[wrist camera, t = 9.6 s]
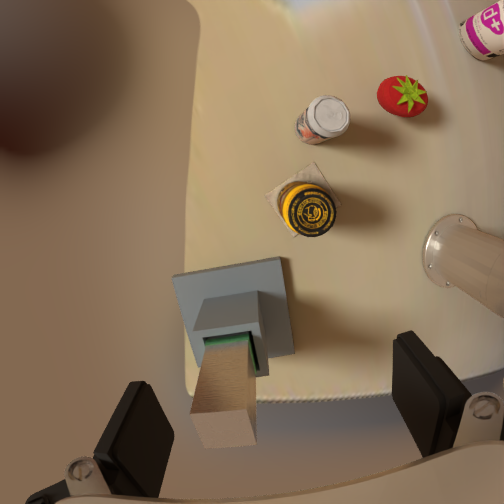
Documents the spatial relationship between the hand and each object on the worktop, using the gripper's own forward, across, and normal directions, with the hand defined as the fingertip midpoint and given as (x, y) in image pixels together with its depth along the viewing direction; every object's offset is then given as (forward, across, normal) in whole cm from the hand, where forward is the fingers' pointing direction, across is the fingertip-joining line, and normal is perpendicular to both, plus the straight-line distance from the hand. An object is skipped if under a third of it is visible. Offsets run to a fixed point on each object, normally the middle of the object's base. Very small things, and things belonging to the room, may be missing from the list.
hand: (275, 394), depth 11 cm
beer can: (+36, -10, -12) cm, 39 cm away
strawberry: (+36, -23, -14) cm, 45 cm away
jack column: (+28, +6, +13) cm, 31 cm away
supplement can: (+36, -46, -26) cm, 64 cm away
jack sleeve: (+36, +6, +13) cm, 38 cm away
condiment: (+36, -7, -2) cm, 37 cm away
